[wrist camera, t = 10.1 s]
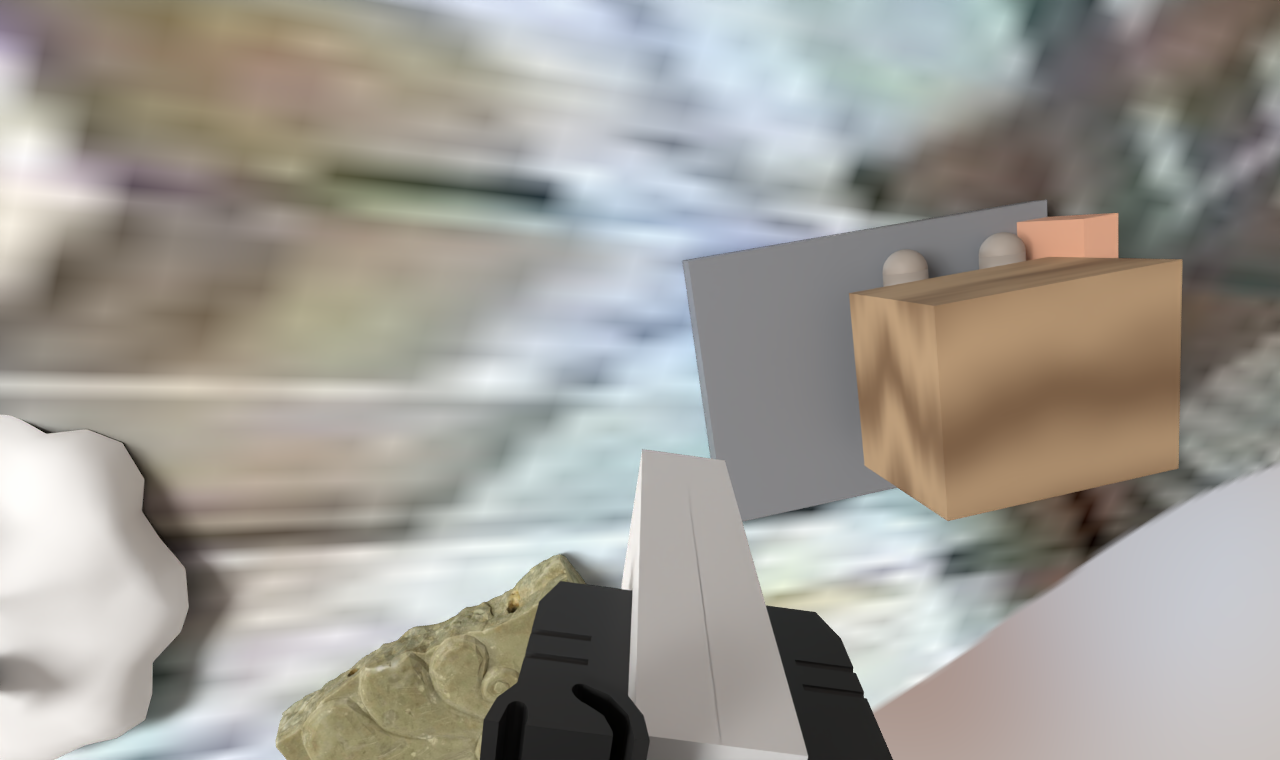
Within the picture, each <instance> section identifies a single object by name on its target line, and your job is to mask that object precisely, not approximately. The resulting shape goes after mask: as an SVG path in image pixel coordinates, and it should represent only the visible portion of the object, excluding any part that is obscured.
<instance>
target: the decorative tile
mask: <svg viewBox="0 0 1280 760" xmlns="http://www.w3.org/2000/svg"><path fill="white" fill-rule="evenodd" d="M560 581H564V582H572V583H579V584H586V583H585V581H584V580H583V579H582V578H581V576H580V575H579V574H578V572H577V571H576V570H575V569H574V567H573V566H572V565H571V563H570V562H569V561H568V560H567V558H566V557H565V556H562V555H560V554H559V555H556V556H552V557H551V558H549V559H547V560H544V561H543V562H541V563H539V564H538V565H536V566H534V567H533V568H532V569H531V570H530V571H529V572H528V573H527V574H526V575H525V576H524V577H523V578H522V579H521V580H520V581H519V582H518V583H517V584H516V586H515V587H514V588H513V589H511V590H509V591H507V592H505V593H504V594H503V595H501V596H498V597H495V598H493V599H491V600H490V601H488V602H483V603H482V604H480V605H477V606H473V607H466V608H465V609H463V610H462V611H461V612H460V613H459V614H457V615H456V616H454V617H452V618H450V619H448V620H447V621H445V622H442V623H439V624H434V625H429V626H417V627H414V628H411V629H409V630H408V631H407V632H406V633H405V634H404V635H403V636H401V637H400V638H399V639H398V640H397V641H394V642H391V643H387V644H383V645H382V646H381V647H380V648H379V649H378V650H375V651H373V652H372V653H370V654H369V655H366V656H365V657H364V658H362V659H361V660H360V661H358V663H356V664H355V665H354V666H353V667H352V668H351V669H350V670H348V671H347V672H345V673H342V674H341V675H339V676H338V677H337V678H335V679H334V680H331V681H329V682H328V683H326V684H325V685H324V686H323V687H322V689H320V690H318V691H316V692H313V693H311V694H309V695H307V696H305V697H304V698H303V699H302V700H300V701H297V702H295V703H294V704H293V705H292V706H291V707H290V708H288V709H287V710H286V711H285V712H283V714H282V715H283V717H282V719H281V721H280V724H279V728H278V733H277V737H276V747H277V749H278V750H279V751H280V752H281V753H282V754H283V756H284V757H285V758H286V759H287V760H480V752H481V741H482V731H483V721H484V718H485V717H486V715H487V713H488V711H489V710H490V708H491V706H492V705H493V703H494V701H495V700H496V698H497V697H498V696H499V695H501V694H502V693H503V692H505V691H506V690H508V689H509V688H510V687H512V686H513V685H514V684H516V683H517V682H518V678H519V674H520V670H521V667H522V663H523V659H524V657H525V653H526V648H527V645H528V641H529V637H530V634H531V631H532V626H533V622H534V619H535V615H536V611H537V608H538V604H539V601H540V600H541V599H542V598H543V597H544V596H545V595H546V594H547V593H548V592H549V591H550V590H552V589H553V588H554V587H555V586H556V585H557V584H558V583H559V582H560Z"/></svg>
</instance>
